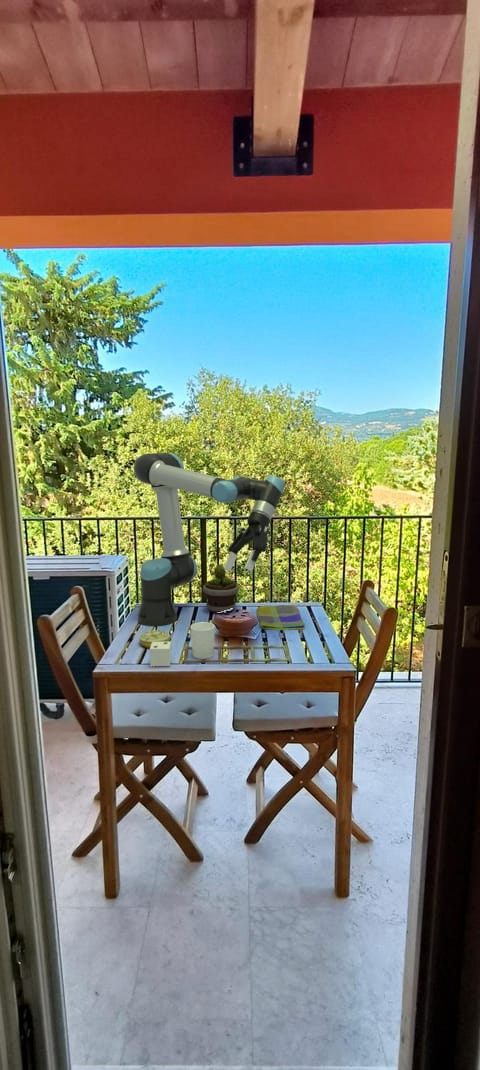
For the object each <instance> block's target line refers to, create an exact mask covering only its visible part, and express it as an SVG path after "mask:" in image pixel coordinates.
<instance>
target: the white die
mask: <svg viewBox="0 0 480 1070" xmlns="http://www.w3.org/2000/svg"><path fill="white" fill-rule="evenodd" d="M149 660H150V661H149V662H150V664H149V665H150V666H149V667H150V668H155V667H154V666H170V667H171V664H170V663H172V660H173V659H172V641H169V642H152V644H151V647H150V648H149ZM152 666H153V667H152Z"/></svg>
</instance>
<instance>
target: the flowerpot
mask: <svg viewBox="0 0 480 1070" xmlns="http://www.w3.org/2000/svg"><path fill="white" fill-rule="evenodd" d="M227 573H228V571H227V570H226V569H224V565H223V563H222V564H221V563H217V562H216V563H215V566H214V568H213V571H212V574H213V578H211V579H210V580H207V581H206V582H205V584H204V585H203V587H202V591H203V593H204V594H205V597H206V600H207V601H206V605H205V606H206V608H207V609H208V611H209V613H210V612H211V613H213V614H216V613H215V612H221V611H224V610H227V609H230V608H234V607H236V601H235V600H236V596H237V593H238V592H239V591H240V586H239V584H237V583H236V581H235V580H233V579H232V578H231V577H228V576H227ZM234 609H235V608H234Z"/></svg>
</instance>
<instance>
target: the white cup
mask: <svg viewBox="0 0 480 1070" xmlns="http://www.w3.org/2000/svg"><path fill="white" fill-rule="evenodd" d="M215 628H216V626H215V624H214V623H212V622H209V621H207V622H205V621H202V622H201V621H200V622H195V623H192V624H191V625H190V641H191V647H192V649H191V651H192V656H193V658H194V659H195V658H196V660H207V659H210V658H212V657H213V656H214V651H215V649H214V646H215V633H216V631H215V630H216V629H215Z"/></svg>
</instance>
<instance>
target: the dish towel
mask: <svg viewBox="0 0 480 1070" xmlns="http://www.w3.org/2000/svg"><path fill="white" fill-rule="evenodd" d="M256 615H258V617H259V620H258V623H260V624H259V626H260V628H261V629H263V630H266V631H304V630H305V626H306V624H305V622H304V621H303V618H302V616H301V613H300V609H298V607H297V606H296V605H294V604H288V605H286V604H285V605H284V604H280V605H260V606H258V607H257V608H256ZM258 617H257V618H258Z"/></svg>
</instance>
